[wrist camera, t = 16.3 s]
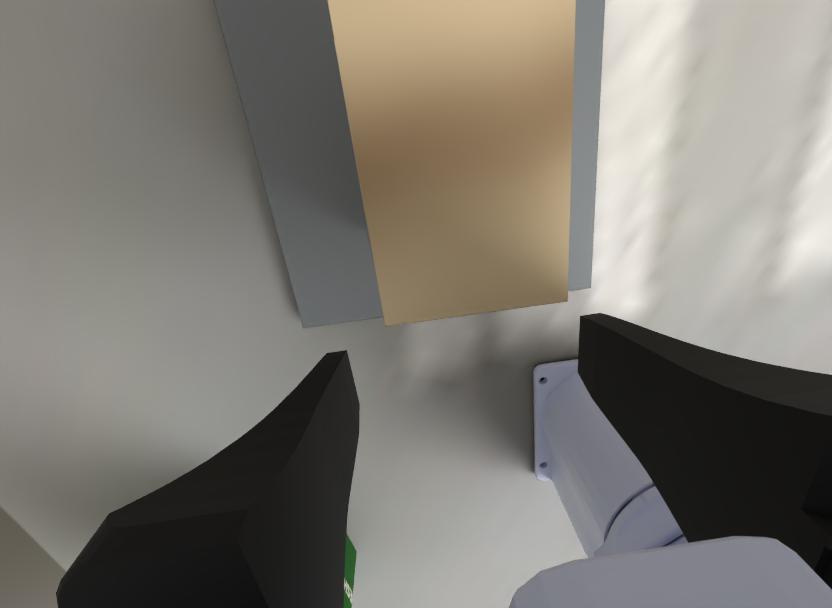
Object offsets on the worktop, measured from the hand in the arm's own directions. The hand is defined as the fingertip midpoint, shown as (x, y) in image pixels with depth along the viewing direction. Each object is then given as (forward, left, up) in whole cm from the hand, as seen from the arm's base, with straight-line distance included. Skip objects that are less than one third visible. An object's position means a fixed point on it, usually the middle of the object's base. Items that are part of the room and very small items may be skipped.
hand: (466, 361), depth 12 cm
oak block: (+6, 0, -4) cm, 7 cm away
